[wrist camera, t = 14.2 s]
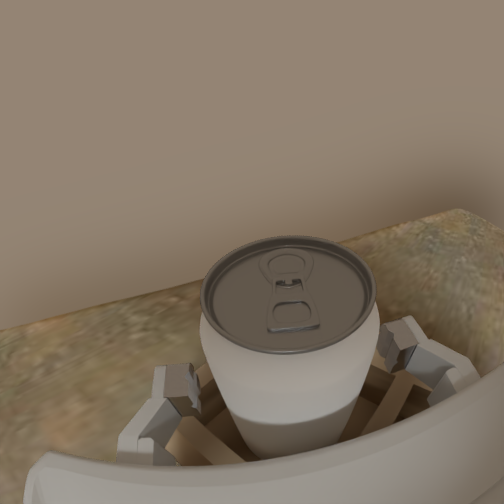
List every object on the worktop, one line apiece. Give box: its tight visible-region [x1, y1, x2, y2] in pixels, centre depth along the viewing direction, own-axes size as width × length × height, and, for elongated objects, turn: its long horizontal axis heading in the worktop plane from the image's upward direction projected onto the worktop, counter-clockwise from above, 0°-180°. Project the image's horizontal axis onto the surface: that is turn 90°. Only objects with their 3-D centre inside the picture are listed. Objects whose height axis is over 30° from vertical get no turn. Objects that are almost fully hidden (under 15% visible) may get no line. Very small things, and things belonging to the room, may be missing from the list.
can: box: [200, 236, 380, 460], centre depth 12 cm, size 6×6×12 cm
